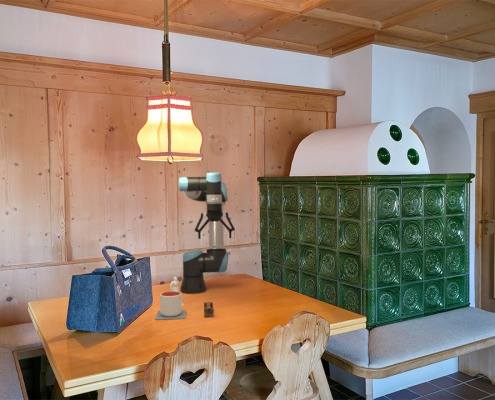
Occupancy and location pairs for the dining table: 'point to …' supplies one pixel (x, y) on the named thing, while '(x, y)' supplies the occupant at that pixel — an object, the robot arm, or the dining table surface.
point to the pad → (161, 317)
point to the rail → (208, 309)
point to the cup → (170, 304)
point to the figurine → (174, 286)
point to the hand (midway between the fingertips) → (215, 245)
